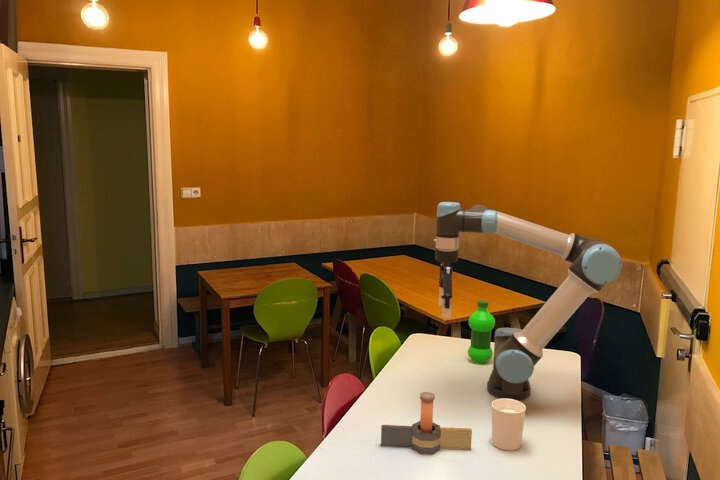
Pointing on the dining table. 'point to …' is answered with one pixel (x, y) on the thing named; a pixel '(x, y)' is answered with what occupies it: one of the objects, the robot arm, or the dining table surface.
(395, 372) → the dining table surface
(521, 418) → the candle holder
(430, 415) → the hinge pin
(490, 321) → the plastic bottle
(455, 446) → the hinge
